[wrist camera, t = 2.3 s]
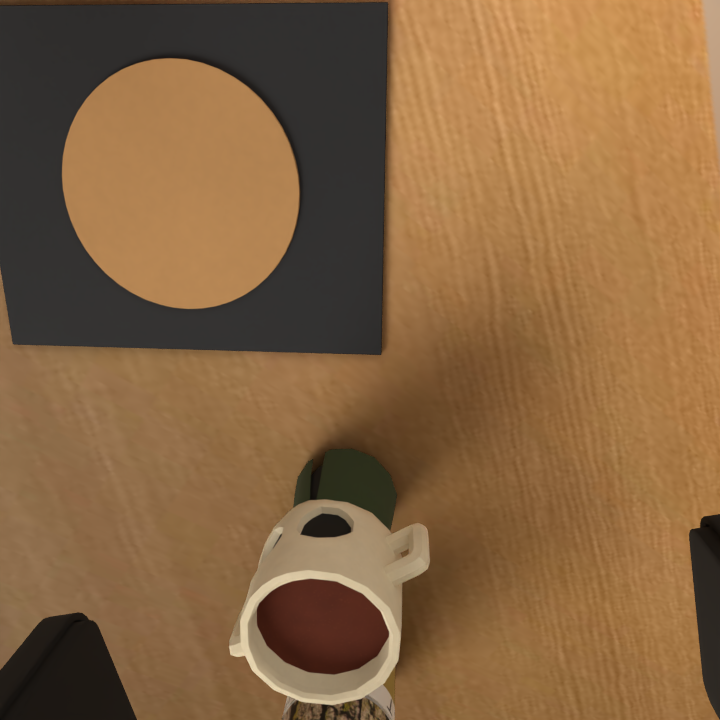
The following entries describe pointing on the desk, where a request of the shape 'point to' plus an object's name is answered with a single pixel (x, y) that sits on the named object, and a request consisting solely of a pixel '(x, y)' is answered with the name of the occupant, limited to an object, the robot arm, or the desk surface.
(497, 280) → the desk surface
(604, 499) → the desk surface
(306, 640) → the character mug
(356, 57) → the desk mat
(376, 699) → the paper tube
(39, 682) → the robot arm
